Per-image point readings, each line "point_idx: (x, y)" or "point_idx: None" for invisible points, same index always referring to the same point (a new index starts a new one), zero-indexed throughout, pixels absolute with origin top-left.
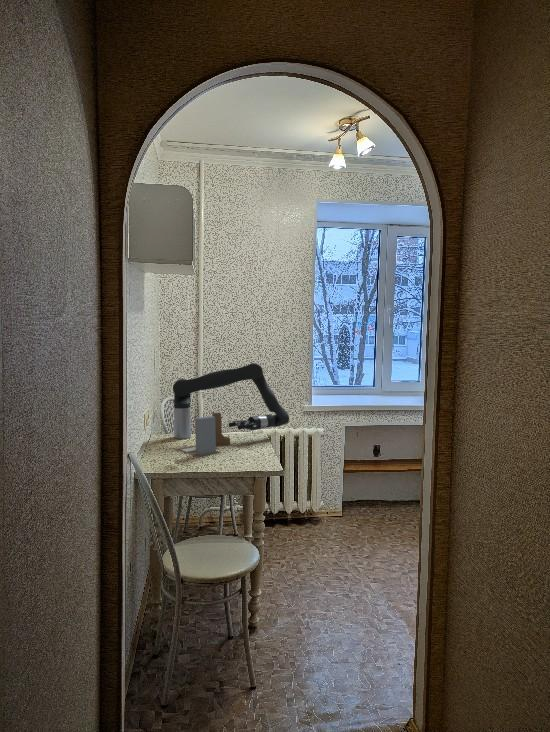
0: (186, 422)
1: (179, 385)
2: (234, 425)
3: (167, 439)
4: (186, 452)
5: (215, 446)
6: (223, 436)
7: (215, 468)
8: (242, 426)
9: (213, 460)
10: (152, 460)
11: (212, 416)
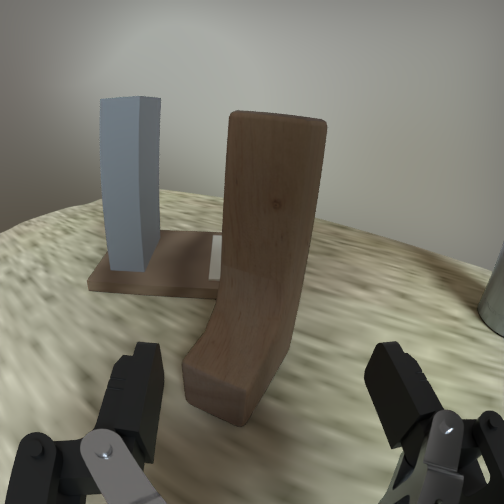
0: None
1: None
2: (393, 433)
3: (470, 283)
4: (207, 234)
5: (107, 242)
6: (216, 316)
7: (32, 229)
8: (108, 394)
9: (76, 251)
10: (218, 202)
11: (122, 97)
